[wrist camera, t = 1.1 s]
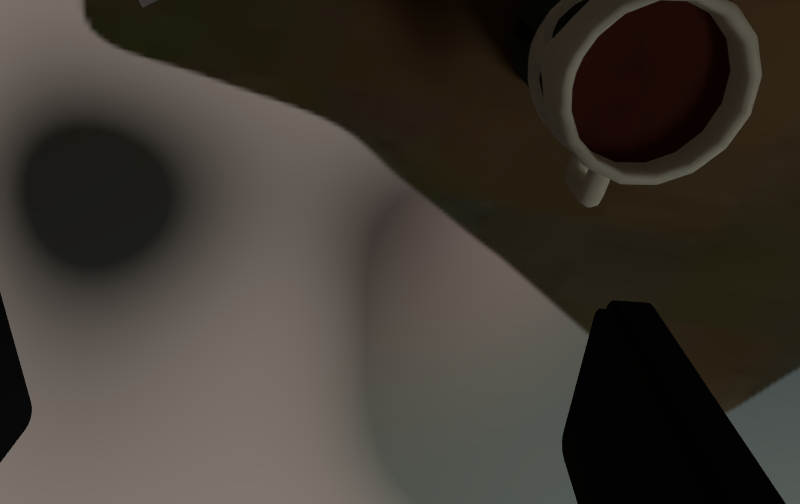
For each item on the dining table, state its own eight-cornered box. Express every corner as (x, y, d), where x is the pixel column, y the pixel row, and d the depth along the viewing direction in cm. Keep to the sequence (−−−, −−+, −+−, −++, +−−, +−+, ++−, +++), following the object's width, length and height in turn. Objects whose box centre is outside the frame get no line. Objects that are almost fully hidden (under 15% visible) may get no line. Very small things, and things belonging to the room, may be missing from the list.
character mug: (536, -92, 30) (624, -110, 18) (670, -56, 31) (835, -52, 19) (475, 121, 35) (514, 211, 23) (592, 147, 36) (685, 247, 24)
